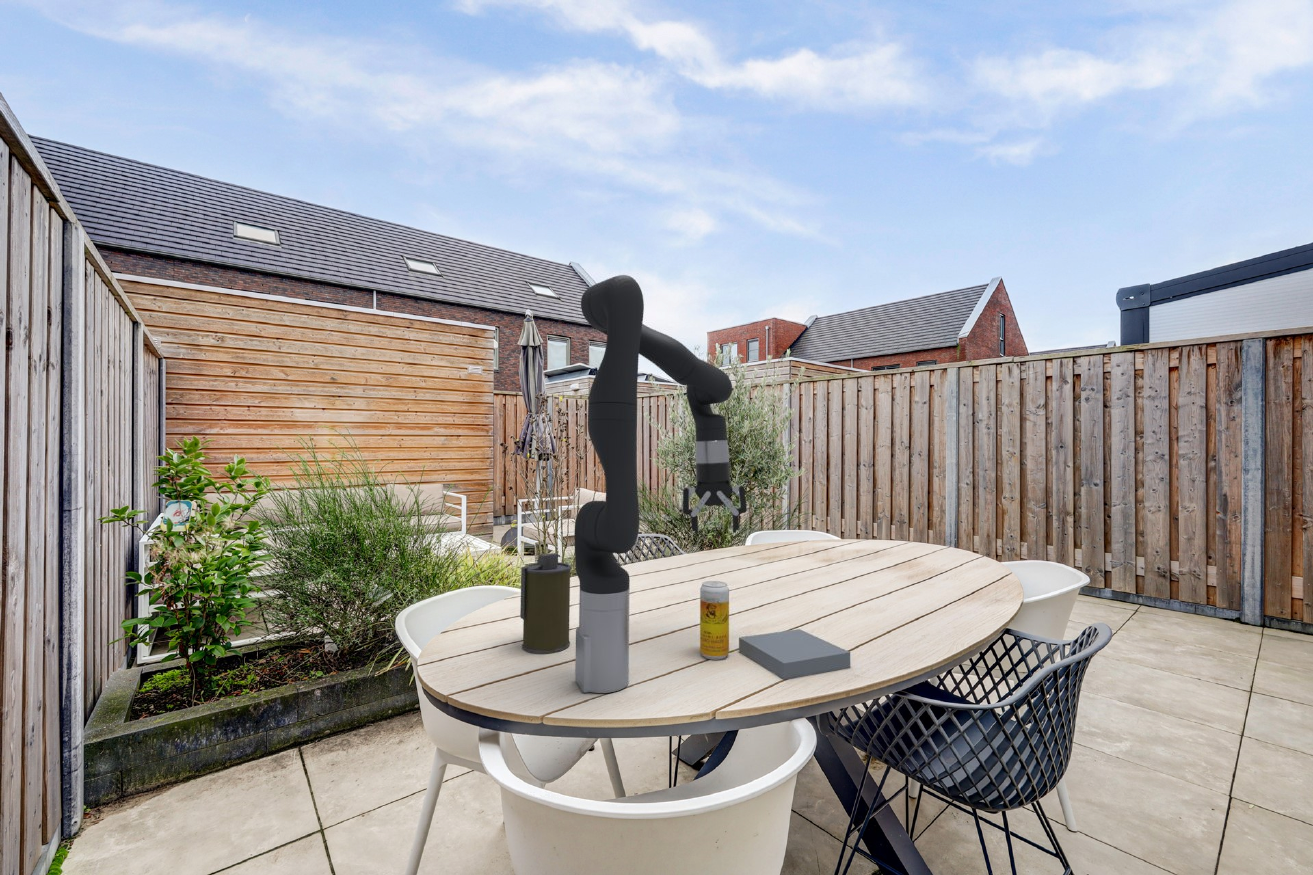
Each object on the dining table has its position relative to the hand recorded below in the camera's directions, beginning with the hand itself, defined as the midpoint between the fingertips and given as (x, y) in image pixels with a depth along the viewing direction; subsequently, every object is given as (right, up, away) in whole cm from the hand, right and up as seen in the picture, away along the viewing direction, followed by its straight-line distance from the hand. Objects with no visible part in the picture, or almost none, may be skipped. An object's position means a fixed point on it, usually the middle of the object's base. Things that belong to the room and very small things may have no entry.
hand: (715, 532), depth 120 cm
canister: (-38, -25, -3) cm, 45 cm away
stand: (+15, -25, -10) cm, 30 cm away
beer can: (-1, -25, -8) cm, 26 cm away
